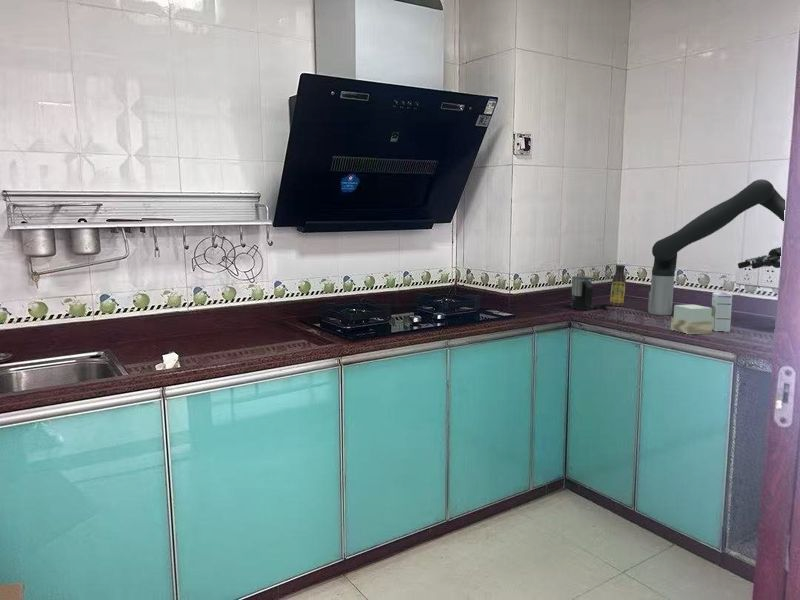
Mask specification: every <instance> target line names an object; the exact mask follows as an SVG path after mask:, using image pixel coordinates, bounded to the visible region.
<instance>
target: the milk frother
mask: <svg viewBox="0 0 800 600" xmlns="http://www.w3.org/2000/svg"><path fill="white" fill-rule="evenodd" d="M571 278H572V279H571V282H572V283H571V301H570V308H571V309H574V308H576V309H575V310H590V309H589V308H595V307H597V308H601V309H602V308H603V309H606V307H609V306H611V305H610V302H602V303H597V304H594V305H592V302H593V291H594V285H593V283H592V279H593V277H592V276H583V275H578V276H577V275H574V276H571Z"/></svg>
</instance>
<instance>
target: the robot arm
mask: <svg viewBox="0 0 800 600" xmlns="http://www.w3.org/2000/svg"><path fill="white" fill-rule="evenodd" d="M757 205H760V206H762V207H764V208H765V209H767V210H769V211H770V212H771V213H772V214H774V215H775V216H776V217H778V218H779V219H780V221H782V222H783V221H784V210H785V199H784V197H783V196H781V194H780V193H779V192H778V190H776V188H775V187H774V185H773V184H772V182H770V181H769V180H768V179H767V180H766V179H756V180H754V181H753V182H750V184H748V185H747V186H746V187H744V188H742V189H741V191H739V192H738V193H736V194H735V195H733V196H732V197H729V198H728V199H726V200H724V201H723V202H720V203H719V204H717V205H716V204H715V206H713V207H711V208H709V209H708V210H706V211H704V212H703V213H702V214H699V215H698V216H697V217H695V218H693V219H692V220H691V221H690V222H688V223H687V224H686V225H684V226H682V228H680V229H678V230H677V231H676V232H675V231H674V233H672V234H670V235H667V236H665V237H663V238H662V239H659V240H657V241H655V243H654V244H653V246H652V248H651V253H652V256H653V257H654V258H653V261H654V262H653V266H652V268H651V269H652V270H651V277H650V278H651V279H650V280H651V282H650V283H651V284H650V291H648V301H647V302H648V303H647V304H648V306H647V312H648V314H650V315H654V316H671V315H672V313H673V312H672V311H673V302H674V301H673V300H674V299H673V298H674V286H675V285H674V284H675V273H676V269H677V259H678V253H679V252H680V251H682V249H684V248H687V246H689V245H691V244H693V243H695V242H698V241H701V240H703V239H705V238H706V237H709V236H711V235H712V234H714V233H716V232H718V231H719V230H721V229H722V228H724V227H725V226H726V225H728V224H730V223H731V222H732V221H733V220H734V219H735V218H737V217H738V216H739V215H741V214H742V213H743V212H746V211H747V210H749V209H751V208H753V207H755V206H757ZM781 247H782V246H781ZM781 247H776V248H771V249H770V250H769V251H768V254H765V255H761V256H756V257H753V258H752V257H751V258H749V259H745V261H742V262H741V261H740V262H738V263H737V267H738V269H744V268H748V267H751V268H752V270H754V269H759V268H767V267H772V268H775V269H779V268H781V267H780V256H781Z"/></svg>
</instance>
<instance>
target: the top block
mask: <svg viewBox="0 0 800 600" xmlns="http://www.w3.org/2000/svg"><path fill="white" fill-rule="evenodd" d="M711 313H712V307H708V306H703V305H699V304H674V308H673V318H675V319H679V320H683V321H687V322H708V321H711Z"/></svg>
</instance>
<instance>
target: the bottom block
mask: <svg viewBox="0 0 800 600" xmlns="http://www.w3.org/2000/svg"><path fill="white" fill-rule="evenodd" d="M712 324H713V322H712V321H708V322H687V321H683V320H679V319H675V318H674V317H671V318H670V330H671V329H672V330H671V331H673V330H676V331H679V332H678V333H680V332H683V333H686V334H685V335H687V334H702V335H711V334H710V333H712V334H713V330H712ZM676 331H675V332H676ZM683 333H682V334H683Z"/></svg>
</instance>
